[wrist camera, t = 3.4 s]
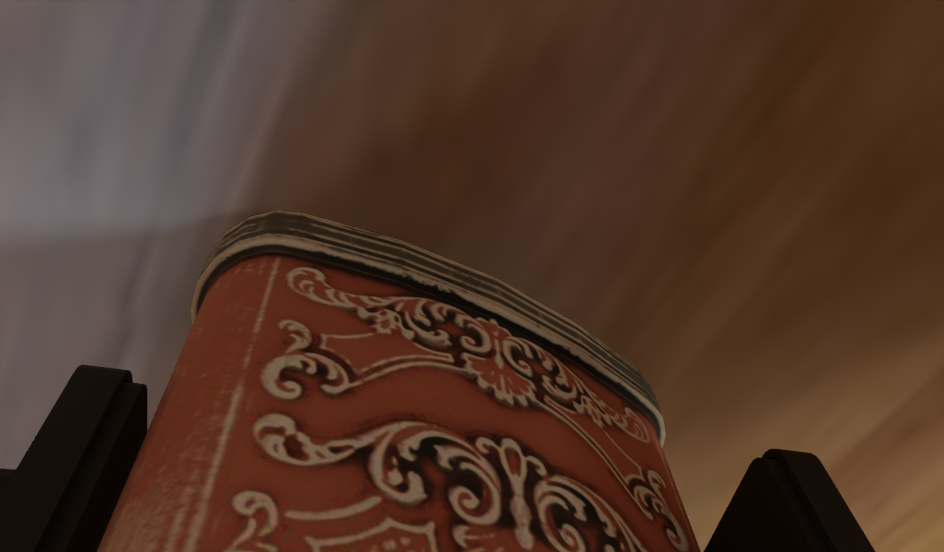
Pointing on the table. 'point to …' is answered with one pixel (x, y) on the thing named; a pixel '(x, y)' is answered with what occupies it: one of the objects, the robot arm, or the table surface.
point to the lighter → (391, 413)
